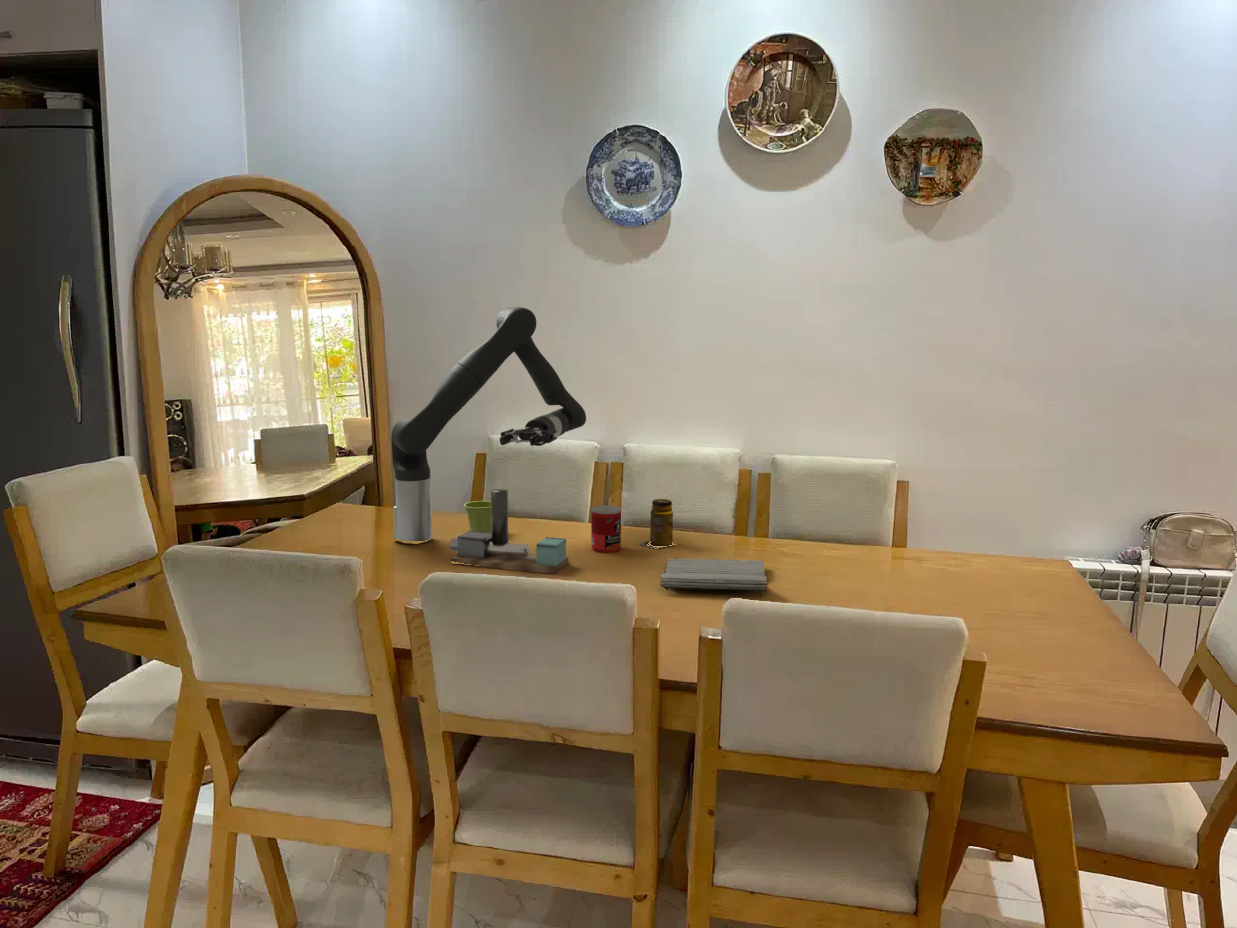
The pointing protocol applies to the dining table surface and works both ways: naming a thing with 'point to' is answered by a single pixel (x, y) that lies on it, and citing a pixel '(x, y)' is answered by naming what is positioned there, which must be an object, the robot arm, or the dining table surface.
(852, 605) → the dining table surface
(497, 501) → the slide bolt
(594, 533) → the canned food
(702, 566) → the mat
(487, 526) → the plant pot
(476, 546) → the sleeve
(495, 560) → the board
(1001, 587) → the dining table surface
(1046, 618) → the dining table surface
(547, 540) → the socket block
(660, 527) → the condiment
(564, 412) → the robot arm
